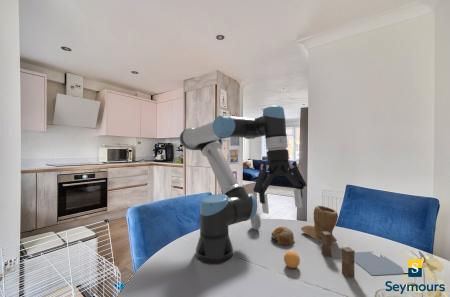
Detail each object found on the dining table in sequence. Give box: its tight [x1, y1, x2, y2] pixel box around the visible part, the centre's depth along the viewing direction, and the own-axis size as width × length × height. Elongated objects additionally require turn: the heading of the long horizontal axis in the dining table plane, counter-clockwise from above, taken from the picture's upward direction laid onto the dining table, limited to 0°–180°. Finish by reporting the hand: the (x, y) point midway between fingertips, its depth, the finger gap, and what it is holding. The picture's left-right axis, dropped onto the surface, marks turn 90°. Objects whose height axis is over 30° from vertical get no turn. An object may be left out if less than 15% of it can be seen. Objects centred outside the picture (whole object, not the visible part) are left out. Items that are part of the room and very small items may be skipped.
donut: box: [250, 211, 262, 231], centre depth 105 cm, size 10×4×10 cm, turn 9°
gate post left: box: [321, 231, 333, 258], centre depth 80 cm, size 3×3×9 cm
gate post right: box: [341, 246, 356, 279], centre depth 68 cm, size 3×3×9 cm
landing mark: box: [354, 251, 405, 277], centre depth 75 cm, size 14×14×1 cm
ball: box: [283, 250, 301, 269], centre depth 73 cm, size 6×6×6 cm
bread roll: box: [270, 226, 295, 246], centre depth 93 cm, size 10×10×8 cm
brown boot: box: [300, 205, 339, 244], centre depth 95 cm, size 15×12×15 cm
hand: (282, 210), depth 70 cm, fingers open, 13 cm apart
